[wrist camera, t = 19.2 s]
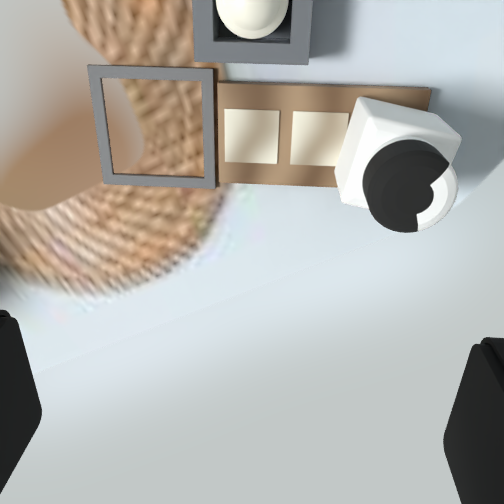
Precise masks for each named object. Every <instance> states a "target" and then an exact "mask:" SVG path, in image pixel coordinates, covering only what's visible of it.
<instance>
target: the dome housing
mask: <svg viewBox="0 0 504 504" xmlns="http://www.w3.org/2000/svg"><path fill="white" fill-rule="evenodd" d="M192 6H193V33H194V60H195V62H220V63H252V64H285V65H308V62H309V48H310V35H311V21H312V7H313V0H292V13H291V32H290V39H267V38H257V39H248V38H231V37H219V29H218V10H217V5H216V0H192Z"/></svg>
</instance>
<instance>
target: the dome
mask: <svg viewBox="0 0 504 504" xmlns="http://www.w3.org/2000/svg"><path fill="white" fill-rule="evenodd" d="M288 1H289V0H216V5H217V10H218V13H219V16H220V18H221V20H222V21H223V23H224V24H225V26H226V27H227V28H228V29H229V30H230V31H232V32H233V33H234V34H236V35H238V36H240V37H243V38H248V39H257V38H261V37H264V36H267V35H269V34H270V33H272V32H273V31H274V30H275V29H276V28H277V27H278V26H279V25H280V24H281V22H282V21H283V19H284V17H285V14H286V11H287V8H288Z"/></svg>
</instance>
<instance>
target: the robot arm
mask: <svg viewBox="0 0 504 504" xmlns="http://www.w3.org/2000/svg"><path fill="white" fill-rule="evenodd" d="M41 416H42V408H41V404H40V401H39V397H38V393H37V389H36V386H35V382H34V379H33V375H32V371H31V368H30V364H29V360H28V357H27V353H26V350H25V346H24V342H23V339H22V335H21V332H20V328H19V324H18V322H17V320H16V319H15V318H13V317H11V316H10V314H9V313H8V312H7V311H6V310H0V494H1V492H2V490H3V488H4V486H5V485H6V483H7V481H8V479H9V478H10V476H11V474H12V472H13V470H14V469H15V467H16V465H17V463H18V461H19V460H20V458H21V456H22V454H23V452H24V451H25V449H26V447H27V445H28V444H29V442H30V440H31V438H32V437H33V435H34V433H35V431H36V429H37V428H38V425H39V423H40V420H41ZM443 440H444V441H443V444H444V452H445V455H446V458H447V461H448V464H449V467H450V470H451V473H452V476H453V479H454V482H455V485H456V488H457V491H458V494H459V497H460V500H461V503H462V504H504V338H490V337H486V338H484V339H483V340H482V341H481V343H480V344H475V345H473V346H472V348H471V351H470V354H469V357H468V361H467V364H466V367H465V370H464V373H463V376H462V380H461V383H460V386H459V389H458V392H457V396H456V399H455V402H454V405H453V408H452V411H451V414H450V417H449V421H448V424H447V427H446V430H445V433H444V439H443Z"/></svg>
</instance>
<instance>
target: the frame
mask: <svg viewBox="0 0 504 504" xmlns="http://www.w3.org/2000/svg"><path fill="white" fill-rule="evenodd" d="M87 68H88V75H89V82H90V89H91V96H92V104H93V110H94V118H95V125H96V132H97V139H98V146H99V153H100V161H101V168H102V174H103V182H104V184H115V185H138V186H161V187H184V188H207V189H215V188H216V183H215V131H214V79H213V68H183V67H151V66H119V65H87ZM102 78H126V79H156V80H187V81H202V113H203V146H204V177H189V176H165V175H141V174H117V173H114V172H113V163H112V155H111V147H110V139H109V132H108V124H107V116H106V108H105V101H104V93H103V85H102Z"/></svg>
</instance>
